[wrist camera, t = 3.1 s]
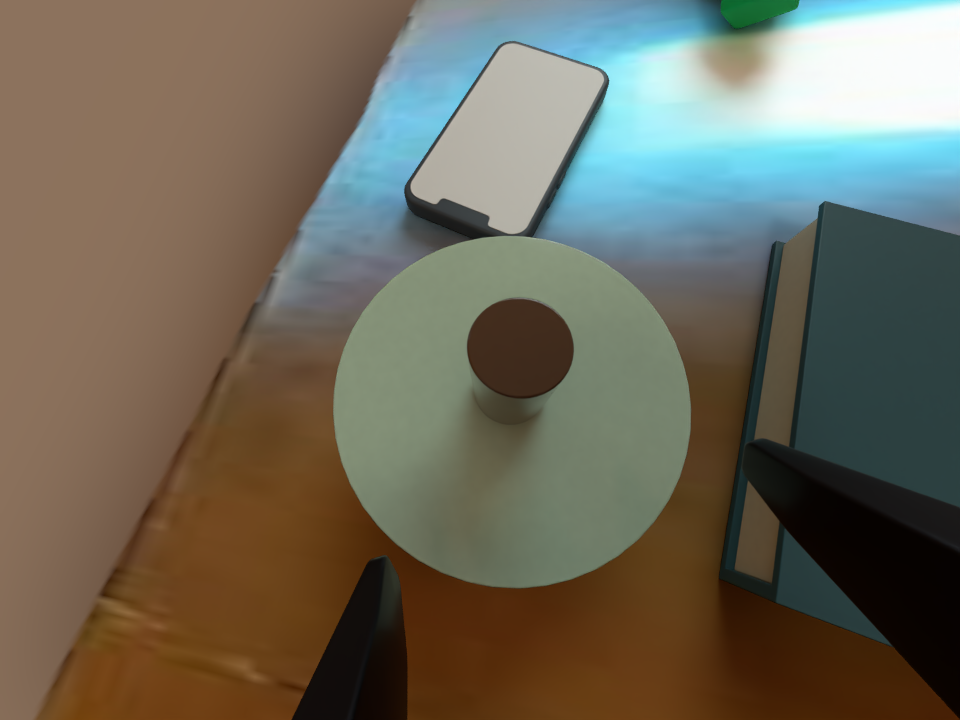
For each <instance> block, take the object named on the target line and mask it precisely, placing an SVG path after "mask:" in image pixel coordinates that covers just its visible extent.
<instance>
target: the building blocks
mask: <svg viewBox="0 0 960 720" xmlns="http://www.w3.org/2000/svg"><path fill="white" fill-rule="evenodd" d="M798 5H799V0H722V1H721V13H722V15H723V16H724V17H725V18H726V20H727V21H728V22H729V23H730V24H731V26H732V27H733V28H734V29H738V28H742V27H745V26H748V25H751V24H754V23H757V22H760V21H763V20H766V19H769V18H772V17H775V16H778V15H781V14H783V13H786V12H789V11H792V10H794V9H796V8H797V7H798Z"/></svg>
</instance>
